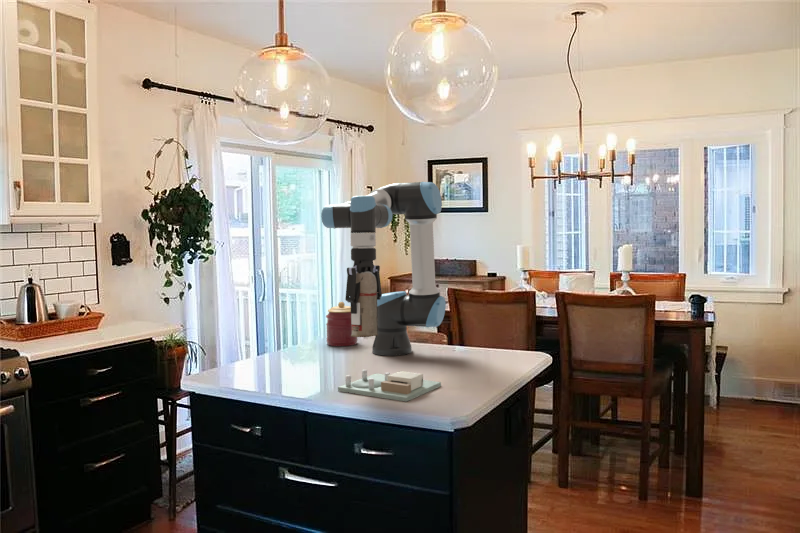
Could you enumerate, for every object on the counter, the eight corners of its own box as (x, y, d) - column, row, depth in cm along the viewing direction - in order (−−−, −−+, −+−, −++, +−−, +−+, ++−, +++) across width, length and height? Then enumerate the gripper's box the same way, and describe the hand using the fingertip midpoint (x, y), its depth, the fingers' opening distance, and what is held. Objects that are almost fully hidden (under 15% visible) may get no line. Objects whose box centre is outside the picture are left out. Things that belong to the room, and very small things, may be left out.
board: (338, 390, 196) (337, 377, 196) (376, 377, 213) (375, 364, 213) (406, 401, 183) (406, 386, 183) (441, 386, 200) (440, 372, 200)
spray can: (347, 335, 201) (345, 270, 200) (372, 333, 205) (370, 269, 203) (356, 339, 194) (354, 272, 192) (382, 337, 197) (380, 270, 196)
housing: (387, 387, 194) (387, 375, 193) (400, 382, 199) (400, 371, 199) (410, 390, 189) (410, 378, 189) (423, 385, 195) (423, 373, 195)
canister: (323, 342, 277) (322, 300, 276) (352, 340, 281) (352, 299, 280) (330, 347, 265) (329, 304, 264) (361, 345, 269) (360, 302, 268)
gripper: (352, 248, 187) (353, 328, 188) (393, 246, 204) (393, 319, 206) (331, 248, 191) (333, 326, 192) (373, 246, 208) (374, 317, 210)
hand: (364, 322), depth 199 cm, fingers closed on spray can, 8 cm apart
